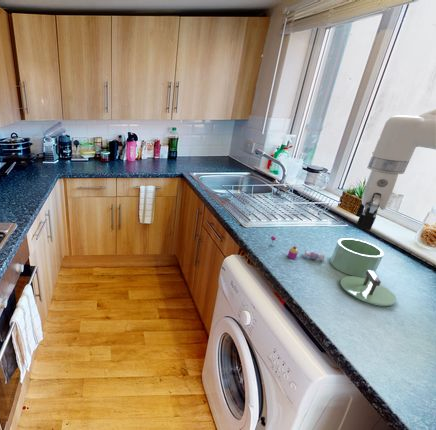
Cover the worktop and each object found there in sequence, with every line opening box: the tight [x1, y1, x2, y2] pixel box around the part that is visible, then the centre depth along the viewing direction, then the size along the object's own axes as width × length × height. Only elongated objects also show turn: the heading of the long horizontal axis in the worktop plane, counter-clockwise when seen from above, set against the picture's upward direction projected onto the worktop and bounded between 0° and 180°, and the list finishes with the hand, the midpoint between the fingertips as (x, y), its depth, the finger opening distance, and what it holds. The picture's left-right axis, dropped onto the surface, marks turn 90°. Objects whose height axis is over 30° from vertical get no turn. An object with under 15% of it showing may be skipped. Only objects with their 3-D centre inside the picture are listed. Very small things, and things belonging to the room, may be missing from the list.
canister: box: [329, 237, 385, 279], centre depth 102 cm, size 13×13×8 cm
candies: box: [270, 235, 325, 262], centre depth 109 cm, size 18×8×6 cm, turn 62°
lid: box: [340, 270, 397, 307], centre depth 90 cm, size 14×14×6 cm
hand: (362, 222), depth 83 cm, fingers open, 9 cm apart
